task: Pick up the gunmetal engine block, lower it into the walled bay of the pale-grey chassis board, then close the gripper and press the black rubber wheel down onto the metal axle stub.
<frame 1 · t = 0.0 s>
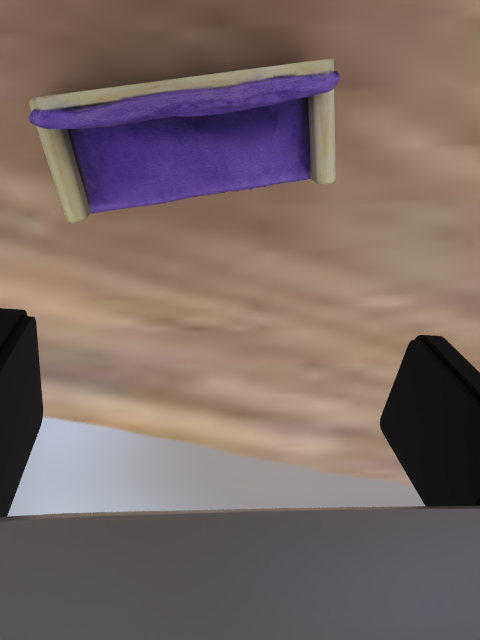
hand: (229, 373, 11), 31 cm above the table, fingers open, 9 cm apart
toy sofa: (190, 133, 38), on the table
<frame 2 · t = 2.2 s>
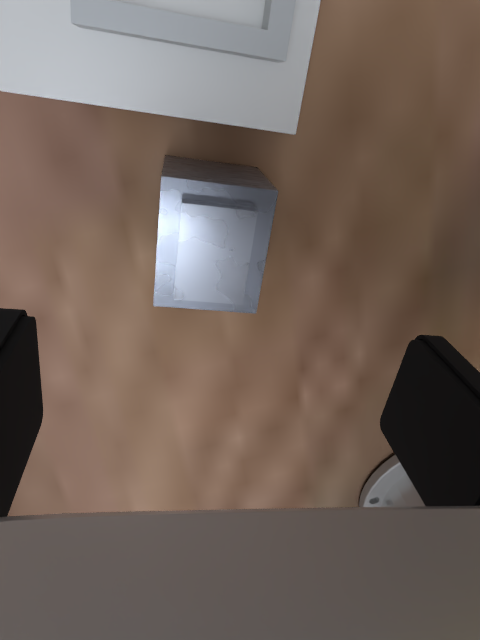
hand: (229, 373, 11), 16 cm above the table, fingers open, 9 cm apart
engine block: (205, 215, 25), on the table
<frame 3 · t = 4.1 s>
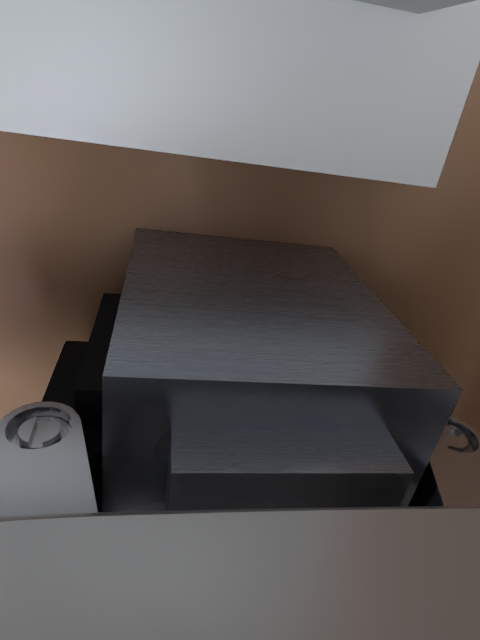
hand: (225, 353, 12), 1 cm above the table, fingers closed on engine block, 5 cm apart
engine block: (223, 340, 13), on the table, touching gripper
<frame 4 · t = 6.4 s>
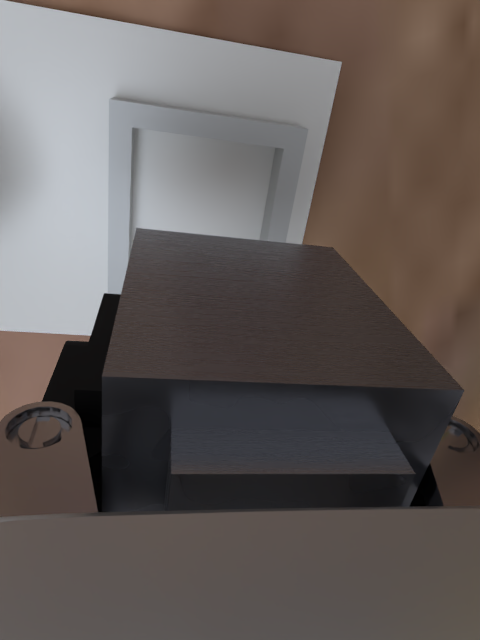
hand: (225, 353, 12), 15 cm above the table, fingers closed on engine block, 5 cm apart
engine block: (223, 340, 12), point 14 cm above the table, touching gripper
chassis: (86, 195, 24), on the table
when the fingers open (3 cm above the table, at t = 8.8 s): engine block drops 1 cm, resting on chassis.
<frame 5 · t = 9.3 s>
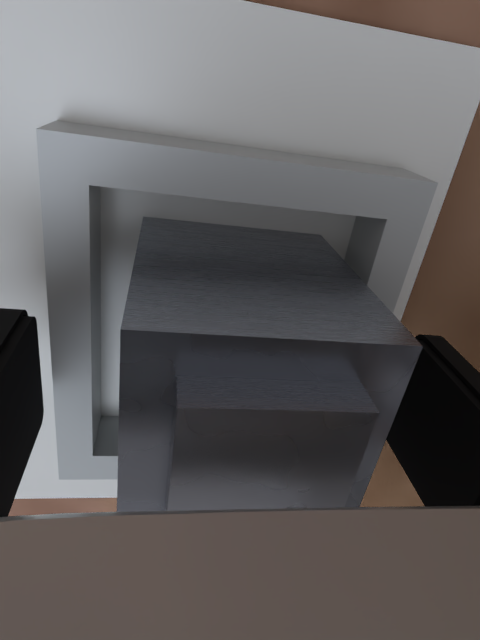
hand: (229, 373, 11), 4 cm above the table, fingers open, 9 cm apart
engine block: (221, 320, 14), point 1 cm above the table, touching chassis
chassis: (21, 286, 14), on the table
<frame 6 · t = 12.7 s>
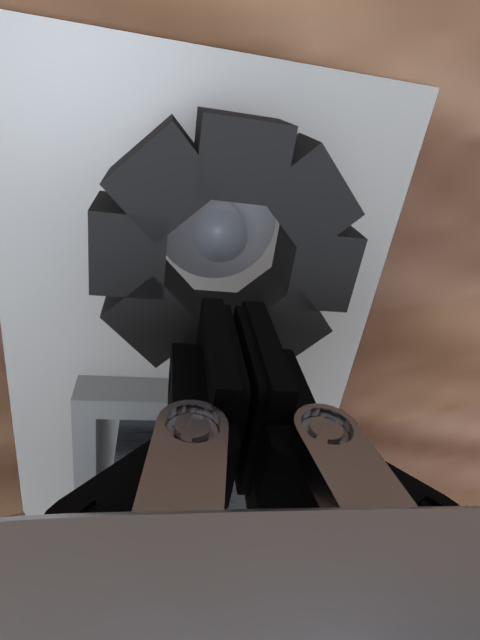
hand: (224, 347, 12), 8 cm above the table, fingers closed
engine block: (179, 450, 23), point 1 cm above the table, touching chassis
chassis: (190, 338, 21), on the table
wheel: (225, 252, 12), point 7 cm above the table, slide at 1.6 cm, touching gripper
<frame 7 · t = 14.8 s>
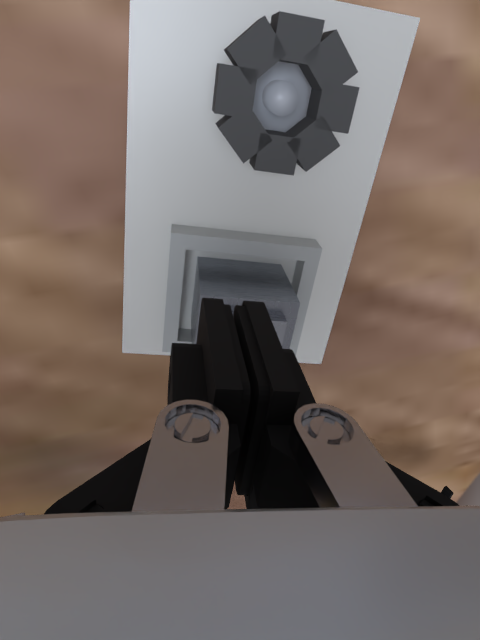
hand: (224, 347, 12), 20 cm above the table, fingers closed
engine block: (234, 292, 32), point 1 cm above the table, touching chassis
chassis: (246, 205, 31), on the table
wheel: (283, 98, 22), point 6 cm above the table, slide at 0.4 cm
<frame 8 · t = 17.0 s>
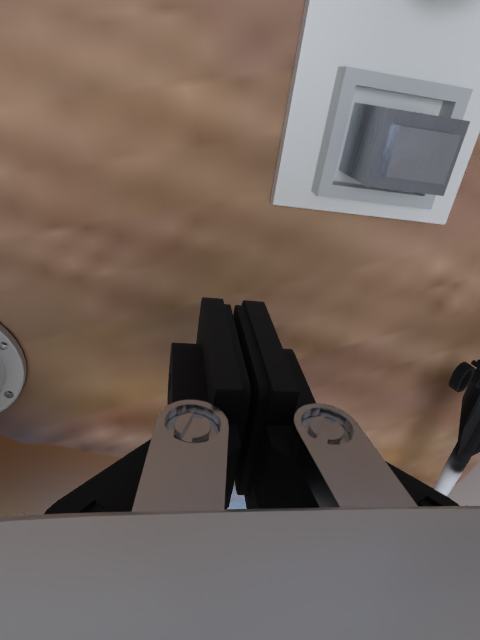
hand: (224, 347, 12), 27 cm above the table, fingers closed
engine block: (381, 142, 36), point 1 cm above the table, touching chassis
chassis: (399, 55, 34), on the table
rocket toy: (428, 390, 52), on the table
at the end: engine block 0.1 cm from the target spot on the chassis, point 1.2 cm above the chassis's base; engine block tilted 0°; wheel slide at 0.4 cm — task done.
